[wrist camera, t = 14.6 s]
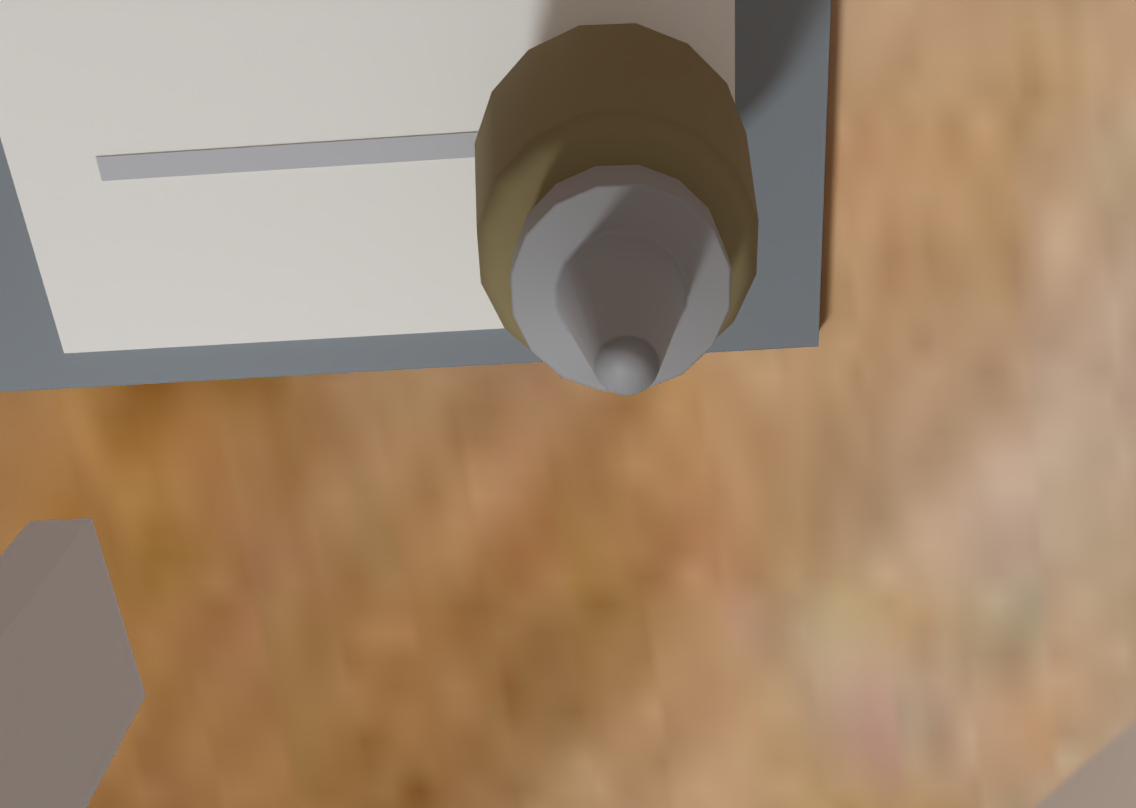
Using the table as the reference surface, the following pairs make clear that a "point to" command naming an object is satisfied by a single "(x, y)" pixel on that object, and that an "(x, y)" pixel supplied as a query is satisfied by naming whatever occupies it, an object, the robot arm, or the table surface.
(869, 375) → the table surface
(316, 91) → the writing board
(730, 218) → the squeeze bottle
